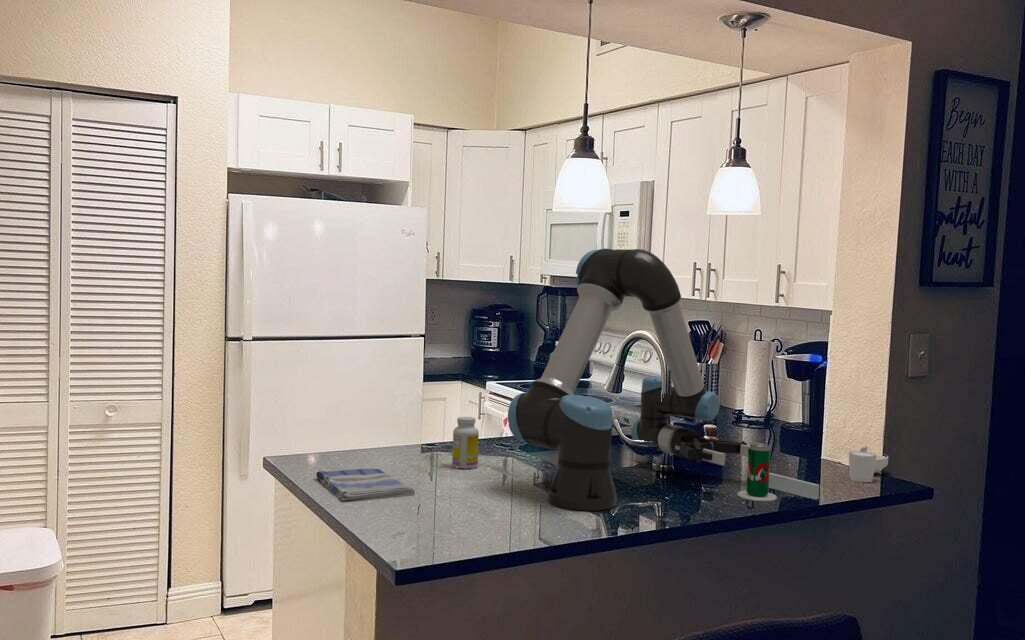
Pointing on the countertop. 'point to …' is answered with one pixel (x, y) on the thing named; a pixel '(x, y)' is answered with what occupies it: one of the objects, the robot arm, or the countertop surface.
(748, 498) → the disc
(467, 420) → the supplement bottle
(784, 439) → the countertop surface
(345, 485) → the dish towel
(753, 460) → the soda can
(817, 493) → the acrylic fence
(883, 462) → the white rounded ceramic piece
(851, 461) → the white cup
